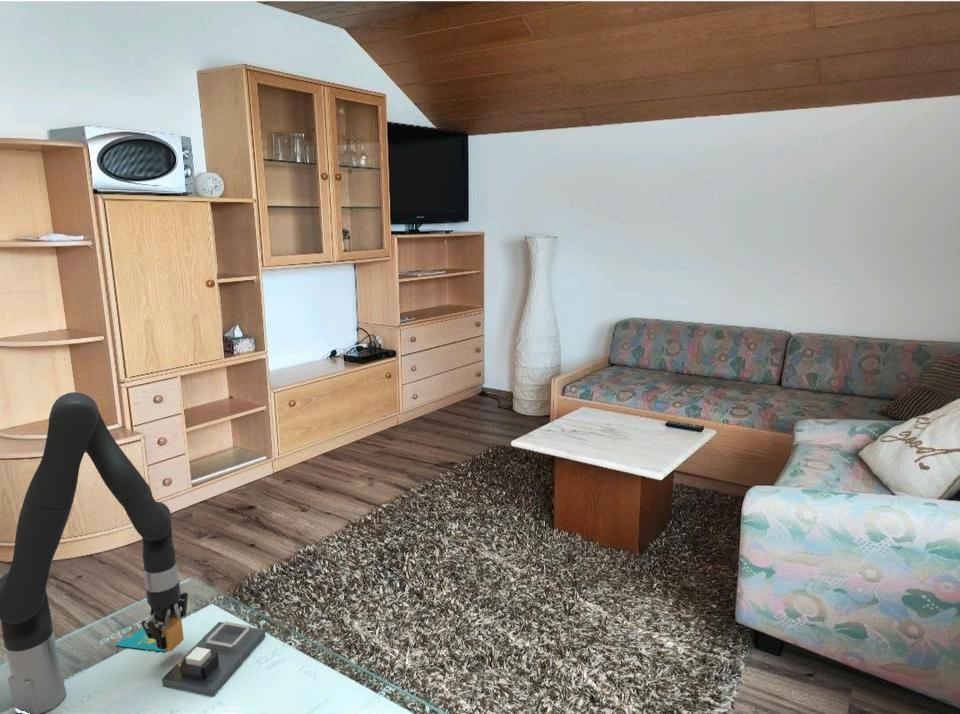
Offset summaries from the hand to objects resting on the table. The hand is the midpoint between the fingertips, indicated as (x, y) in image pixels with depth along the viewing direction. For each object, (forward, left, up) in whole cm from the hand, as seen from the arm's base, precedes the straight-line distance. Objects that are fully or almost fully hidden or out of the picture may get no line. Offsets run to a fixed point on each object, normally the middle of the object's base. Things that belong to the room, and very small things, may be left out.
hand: (169, 641), depth 167 cm
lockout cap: (0, 0, -1) cm, 1 cm away
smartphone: (+4, +11, -6) cm, 13 cm away
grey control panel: (+2, -11, -5) cm, 13 cm away
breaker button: (-4, -11, -3) cm, 12 cm away
